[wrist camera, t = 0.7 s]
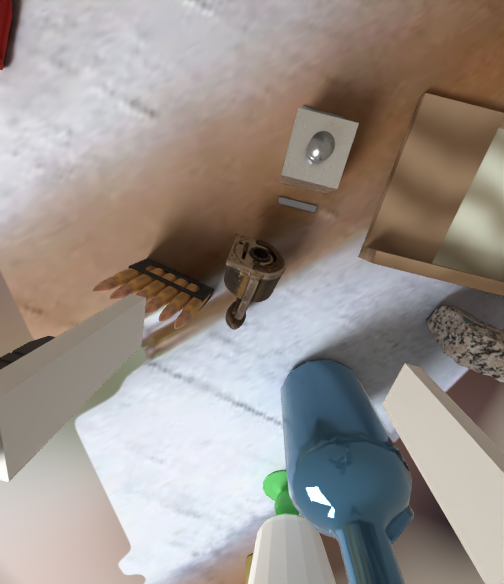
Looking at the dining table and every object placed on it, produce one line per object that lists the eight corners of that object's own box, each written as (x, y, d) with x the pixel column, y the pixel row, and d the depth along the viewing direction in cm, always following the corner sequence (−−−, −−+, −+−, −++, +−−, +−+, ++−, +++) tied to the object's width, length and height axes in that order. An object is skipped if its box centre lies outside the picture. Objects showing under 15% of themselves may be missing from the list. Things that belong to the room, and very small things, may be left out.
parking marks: (302, 106, 27) (302, 106, 27) (344, 117, 27) (344, 116, 27) (277, 203, 31) (278, 203, 30) (314, 212, 31) (315, 212, 30)
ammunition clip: (213, 289, 35) (187, 324, 24) (209, 299, 36) (181, 338, 24) (147, 258, 34) (86, 278, 23) (143, 269, 35) (82, 294, 23)
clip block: (292, 129, 28) (300, 100, 21) (340, 142, 28) (365, 116, 21) (279, 183, 30) (282, 172, 23) (324, 194, 30) (341, 187, 23)
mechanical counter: (284, 235, 32) (291, 243, 22) (275, 320, 36) (278, 358, 26) (232, 231, 32) (217, 237, 23) (228, 316, 36) (214, 352, 27)
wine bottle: (263, 392, 40) (251, 825, 12) (317, 340, 36) (492, 786, 8) (323, 434, 42) (438, 894, 13) (380, 388, 38) (704, 889, 10)
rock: (442, 361, 28) (472, 334, 25) (422, 320, 35) (443, 296, 32) (557, 411, 26) (601, 388, 23) (511, 357, 33) (540, 335, 31)
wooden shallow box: (420, 97, 26) (453, 71, 22) (612, 146, 26) (687, 131, 22) (358, 256, 32) (373, 263, 27) (516, 296, 32) (558, 310, 28)
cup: (279, 450, 44) (284, 572, 29) (335, 484, 46) (368, 616, 31) (238, 488, 48) (223, 613, 33) (291, 518, 49) (301, 650, 34)
